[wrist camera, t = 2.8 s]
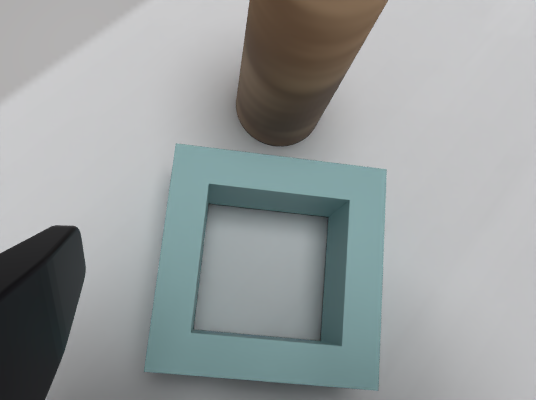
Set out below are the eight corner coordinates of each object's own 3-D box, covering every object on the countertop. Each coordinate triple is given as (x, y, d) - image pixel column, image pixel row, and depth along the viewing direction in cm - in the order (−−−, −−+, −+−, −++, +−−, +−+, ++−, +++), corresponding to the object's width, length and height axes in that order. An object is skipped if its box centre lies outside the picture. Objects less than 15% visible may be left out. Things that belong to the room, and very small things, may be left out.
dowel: (335, 97, 24) (454, -105, 12) (291, 162, 23) (375, 9, 11) (266, 51, 24) (320, -191, 13) (219, 114, 23) (230, -86, 12)
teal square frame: (350, 378, 21) (378, 390, 18) (154, 361, 20) (143, 371, 17) (360, 190, 23) (386, 169, 20) (180, 169, 22) (175, 143, 19)
